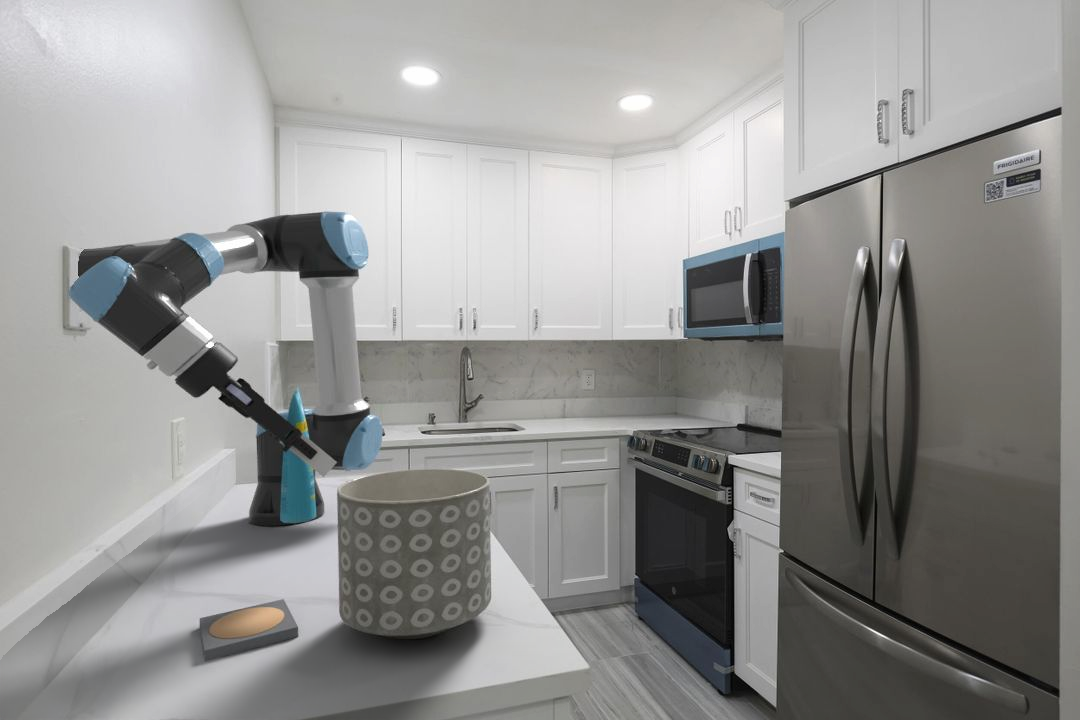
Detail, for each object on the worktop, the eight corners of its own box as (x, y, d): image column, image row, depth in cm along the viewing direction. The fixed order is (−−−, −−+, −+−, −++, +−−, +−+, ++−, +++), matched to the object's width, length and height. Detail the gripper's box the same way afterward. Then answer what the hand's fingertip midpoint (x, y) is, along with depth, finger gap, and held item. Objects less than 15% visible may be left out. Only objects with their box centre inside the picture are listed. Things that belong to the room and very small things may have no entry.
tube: (318, 523, 82) (315, 388, 82) (281, 528, 80) (277, 390, 79) (314, 510, 89) (311, 386, 88) (279, 515, 86) (276, 387, 86)
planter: (337, 606, 79) (335, 475, 79) (471, 585, 86) (469, 464, 86) (342, 677, 62) (339, 508, 61) (510, 643, 68) (508, 491, 68)
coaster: (199, 627, 74) (199, 617, 74) (283, 607, 79) (283, 598, 79) (204, 661, 65) (204, 649, 65) (298, 636, 71) (297, 625, 71)
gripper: (170, 377, 83) (293, 474, 93) (172, 382, 67) (321, 499, 77) (211, 341, 86) (327, 438, 95) (222, 337, 70) (360, 454, 80)
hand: (324, 465), depth 86 cm, fingers closed on tube, 6 cm apart
